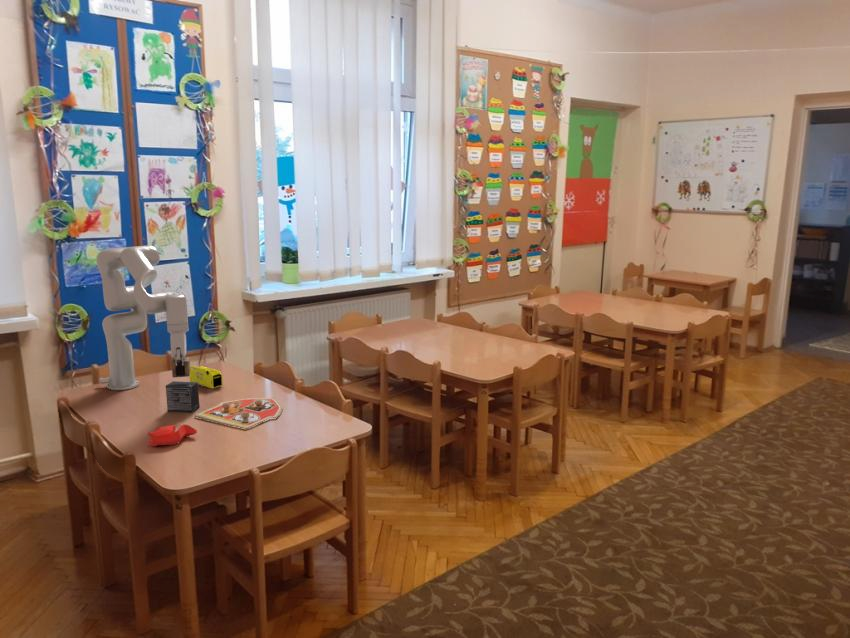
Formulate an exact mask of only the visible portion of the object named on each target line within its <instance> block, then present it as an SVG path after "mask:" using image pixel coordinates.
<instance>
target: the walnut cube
mask: <svg viewBox="0 0 850 638" xmlns="http://www.w3.org/2000/svg"><path fill="white" fill-rule="evenodd" d="M171 359H172V358H171ZM181 360H182V359H181ZM170 364H171V373H172V374H171V375H172V378H174V379H175V378H184V377H185V378H186V377H190V367H191V361H190V357H189V356H185V357H184V365H185V376H176V367H175V366H176V359H175V358H173V359H172V360H171V363H170Z"/></svg>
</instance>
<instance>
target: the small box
mask: <svg viewBox="0 0 850 638" xmlns="http://www.w3.org/2000/svg"><path fill="white" fill-rule="evenodd" d="M165 393H166V396H165V397H166V407H167V411H166V412H171V411H172V412H171V413H174V412H177V413H195V411H197V410H198V409H199V408H200V396H199V393H200V392H199V385H198V382H190V381H171V382H169V383H168V384H166V385H165Z"/></svg>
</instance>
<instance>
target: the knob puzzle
mask: <svg viewBox="0 0 850 638" xmlns="http://www.w3.org/2000/svg"><path fill="white" fill-rule="evenodd" d="M282 408H283V405H282V404H281V403H280V402H279V400H277V398H276V397H245V398H239V399H233V400H226V401H225V400H224V401H221V402H219V403H218V404H217V405H213V406H212V407H209V408H207V409H205V410H203V411H200V412H198V413H195V414H194V418H195V417H198V418H201V419H205V420H209V421H213V422H217V423H216V424H218V423H221V424H220V425H222V424H226V425H230V426H236V427H240V428H245V429H247V428H249V427H252V426H254V425H256V424H259V423H261V422H263V421H265V420H267V419H269V418H276V417H278V416H279V414H280V413H281V411H282V412H283V410H282ZM283 409H284V408H283ZM281 414H282V413H281ZM279 417H280V416H279ZM201 419H200V420H201ZM205 420H204V421H205ZM209 421H208V422H209ZM213 422H212V423H213ZM226 425H225V426H226ZM230 426H229V427H230Z"/></svg>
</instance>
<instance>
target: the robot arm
mask: <svg viewBox="0 0 850 638" xmlns="http://www.w3.org/2000/svg"><path fill="white" fill-rule="evenodd" d="M159 253H160V252H159V251H158V249H157V248H156V247H154V246H152V245H139V246H138V245H137V246H128V247H127V246H126V247H111V248H106V249H103V250H100V251H99V252H98V254H97V256H96V265H97V269H98V271H99V274H100V276H101V282H102V285H101V286H102V293H103V294H102V295H103V301H104V306H105V308H106V310H108V311H110V312H116V311H117V312H118V313H113V314H110V315H107V316H105V317H104V319H103V320H102V323H101V325H102V330H103V333H104V336H105V340H106V346H107V349H106V350H107V356H108V357H107V358H108V366H109V367H108V368H109V376H107V377H99V378H98V379H99V380H98V381H99V383H100V384H106V388H107V389H108V390H110V389H111V391H125V390H132V389H134V388H137V387H138V386H139V385H140V381H139V380H137V379H136V376H135V375H136V374H135V365H134V364H135V363H134V354H133V353H134V352H133V345H132V343H131V341H130V340H129V339H128V338H127V337H126V336H129V335H133V334H139V333H142V332H144V331H145V330H146V329H147V326H148V317H147V315H155V314H161V313H165V317H166V328H167V329H166V330H167V333H169V334H170V336H169V339H170V352H171V354H170V355H171V356H170V357H171V359H173V358H175V359H176V366H175V367H176V376H185V365H184V357H186V355H187V335H186V334H187V332H189V330H190V329H189V316H188V303H187V302H188V300H187V297H186V296H185V295H184V294H179V293H177V292H175V291H163V292H157V293H150V294H149V293H148V292H147V290H146V289H145V288H147V287H148V286H150V285H152V283H154V281H156V279H157V276H158V272H157V270H156V268H155V267H154V266H156V265H158V264H159V262H160V254H159ZM120 269H122V270H123V269H126V270H127V271H128V272H129V275H130V276H132V278H133V280H134V285H129V286H128V285H127V286H126V280H125V276H124V274H123V272H122V271H121V270H120ZM125 310H130V311H127V312H126V311H125ZM119 311H123V312H119ZM124 311H125V312H124ZM181 359H182V360H181Z"/></svg>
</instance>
